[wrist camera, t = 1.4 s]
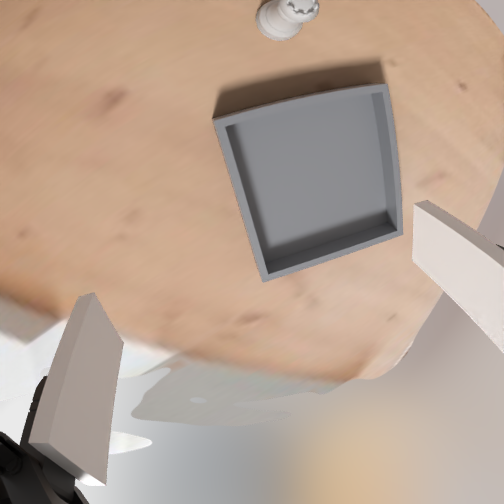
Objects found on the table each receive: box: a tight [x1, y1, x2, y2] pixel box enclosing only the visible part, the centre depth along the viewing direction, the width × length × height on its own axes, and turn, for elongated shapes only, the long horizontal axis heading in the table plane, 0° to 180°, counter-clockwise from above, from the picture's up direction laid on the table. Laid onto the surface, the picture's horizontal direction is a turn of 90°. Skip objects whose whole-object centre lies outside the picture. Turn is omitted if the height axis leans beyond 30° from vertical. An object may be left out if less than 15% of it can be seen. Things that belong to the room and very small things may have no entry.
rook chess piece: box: [256, 0, 319, 41], centre depth 22 cm, size 4×4×8 cm
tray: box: [212, 83, 403, 282], centre depth 32 cm, size 18×18×3 cm
